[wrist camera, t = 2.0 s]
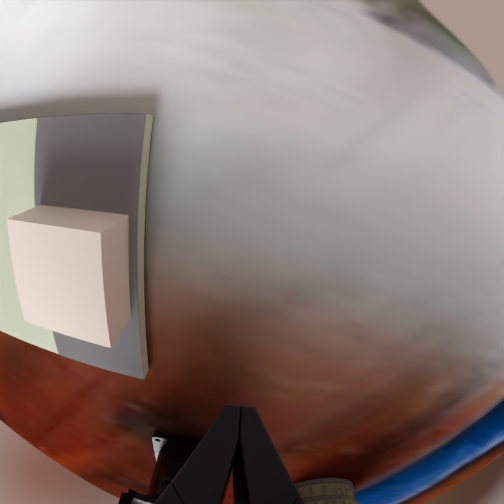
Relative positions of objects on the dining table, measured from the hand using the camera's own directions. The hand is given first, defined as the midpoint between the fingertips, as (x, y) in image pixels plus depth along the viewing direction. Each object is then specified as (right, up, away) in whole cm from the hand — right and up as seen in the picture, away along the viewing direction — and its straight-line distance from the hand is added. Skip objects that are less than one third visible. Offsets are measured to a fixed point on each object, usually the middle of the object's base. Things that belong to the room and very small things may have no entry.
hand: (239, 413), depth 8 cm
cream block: (-9, +4, +7) cm, 12 cm away
